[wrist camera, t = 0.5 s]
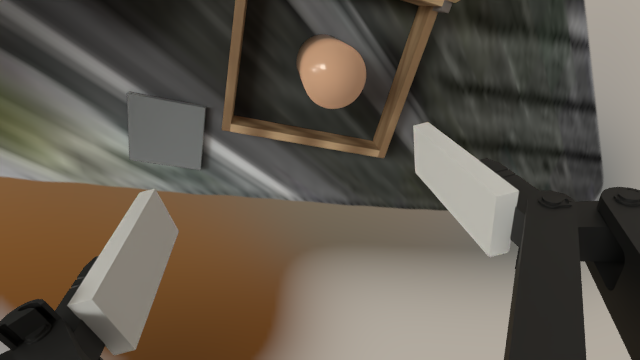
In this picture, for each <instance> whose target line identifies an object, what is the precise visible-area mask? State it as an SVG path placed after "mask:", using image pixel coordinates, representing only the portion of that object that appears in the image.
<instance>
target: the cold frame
mask: <svg viewBox="0 0 640 360" xmlns="http://www.w3.org/2000/svg"><path fill="white" fill-rule="evenodd" d="M402 1H405V2H408V3H412V4H415V5H418V6H419V7H418V10H417V13H416V16H415V19H414V22H413V24H412V27H411V30H410V33H409V36H408V39H407V42H406V45H405V48H404V51H403V54H402V57H401V60H400V63H399V65H398V68H397V71H396V74H395V77H394V80H393V83H392V86H391V89H390V92H389V95H388V98H387V101H386V104H385V106H384V109H383V112H382V115H381V118H380V121H379V124H378V127H377V130H376V133H375V136H374V139H373V141H370V140H365V139H359V138H354V137H348V136H343V135H338V134H332V133H327V132H322V131H316V130H311V129H306V128H300V127H295V126H289V125H284V124H279V123H273V122H268V121H263V120H257V119H252V118H247V117H241V116H236V115H234V108H235V100H236V91H237V83H238V75H239V67H240V58H241V50H242V42H243V33H244V25H245V17H246V9H247V0H235V8H234V18H233V27H232V37H231V46H230V56H229V65H228V75H227V84H226V94H225V103H224V113H223V122H222V130H224V131H230V132H236V133H242V134H247V135H253V136H259V137H264V138H270V139H276V140H282V141H287V142H293V143H299V144H305V145H310V146H316V147H322V148H328V149H333V150H339V151H345V152H351V153H356V154H362V155H368V156H374V157H379V158H384V157H385V155H386V152H387V149H388V146H389V144H390V141H391V138H392V136H393V133H394V130H395V127H396V125H397V122H398V119H399V117H400V114H401V111H402V108H403V106H404V103H405V100H406V98H407V95H408V92H409V89H410V87H411V84H412V81H413V79H414V76H415V73H416V71H417V68H418V65H419V62H420V60H421V57H422V54H423V52H424V49H425V46H426V43H427V41H428V38H429V35H430V33H431V30H432V27H433V24H434V22H435V19H436V16H437V14H438V12H440V13H449V11H450V8H451V6H452V3H453V2H450V1H447V0H402Z"/></svg>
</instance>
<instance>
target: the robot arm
mask: <svg viewBox="0 0 640 360" xmlns="http://www.w3.org/2000/svg"><path fill="white" fill-rule="evenodd" d="M413 130H414V154H415V172H416V174H417V175H418V176H419V177H420V178H421V179H422V181H423V182H424V183H425V184H426V185H427V186H428V187H429V189H430V190H431V191H432V192H433V193H434V194H435V196H436V197H437V198H438V199H439V200H440V201H441V202H442V204H443V205H444V206H445V207H446V208H447V209H448V210H449V212H450V213H451V214H452V215H453V216H454V217H455V219H457V221H458V222H459V223H460V224H461V225H462V227H463V228H464V229H465V230H466V231H467V232H468V233H469V235H470V236H471V237H472V238H473V239H474V240H475V242H476V243H477V244H478V245H479V246H480V247H481V248H482V250H483V251H484V252H485V253H486V254H487V255H488V256H489V257H492V256H496V255H500V254H504V253H508V252H509V249H510V243H511V240H512V241H513V242H514V243H515V244H516V245H517V246H518V247H519V250H518V255H517V260H516V267H515V269H516V271H515V279H514V286H513V294H512V302H511V309H510V317H509V325H508V333H507V340H506V348H505V355H504V360H586V348H585V333H584V316H583V299H582V284H581V268H580V261H585V262H586V264H587V266H588V269H589V271H590V273H591V275H592V277H593V279H594V281H595V283H596V286H597V288H598V290H599V292H600V294H601V296H602V298H603V300H604V302H605V304H606V307H607V309H608V311H609V313H610V314H611V317H612V319H613V321H614V323H615V325H616V327H617V329H618V331H619V334H620V336H621V338H622V340H623V342H624V344H625V346H626V348H627V351H628V353H629V355H630V357H631V359H632V360H640V190H637V189H633V188H624V187H614V188H609V189H606V190H604V191H603V192H602V193H601V196H600V199H599V201H580V202H575V201H574V200H573V199H572V198H570V197H569V196H567V195H565V194H562V193H559V192H554V191H539V190H538V189H536V188H535V187H533V186H532V185H531V184H529V183H528V182H526V181H525V180H523V179H522V178H521V177H519V176H518V175H515V173H513V172H512V171H511V170H508V168H506V167H505V166H503V165H502V164H501V163H499V162H496V161H493V160H491V159H488V158H486V159H481V160H478V159H476V158H475V157H474V156H472V155H471V154H470V153H468V152H467V151H466V150H464V149H463V148H462V147H460V146H459V145H458V144H456V143H455V142H454V141H452V140H451V139H450V138H448V137H447V136H446V135H445V134H443V133H442V132H441V131H439V130H438V129H437V128H435V127H434V126H433V125H431V124H430V123H429V122H426V123H422V124H418V125H414V126H413ZM178 232H179V231H178V229H177V227H176V225H175V224H174V222H173V220H172V218H171V216H170V214H169V213H168V211H167V209H166V207H165V205H164V204H163V202H162V200H161V198H160V196H159V195H158V193H157V191H156V189H152V190H147V191H144V192H140V193H139V194H138V196H137V197H136V199H135V200H134V202H133V204H132V205H131V207H130V209H129V210H128V212H127V213H126V215H125V216H124V218H123V219H122V221H121V222H120V224H119V226H118V227H117V229H116V230H115V232H114V233H113V235H112V236H111V238H110V240H109V241H108V243H107V244H106V246H105V247H104V249H103V250H102V252H101V254H100V255H99V256H97V257H95V258H93V259H92V261H90V262H89V263H88V264H87V265H86V266H85V267H84V268H83V270H82V271H81V273H80V274H79V276H78V277H77V280H75V282H74V283H73V285H72V286H71V287H72V288H71V289H69V291H68V292H67V294H66V295H65V297H64V298H63V300H62V301H61V303H60V304H59V306H58V307H57V309H56V310H55V311H54V310H53V309H52V308H51V307H50V306H49V305H48V304H47V303H46V302H45V301H44V300H43V299H36V300H33V301H29V302H27V303H25V304H23V305H21V306H19V307H17V308H16V309H14V310H13V311H12V312H10V313H9V314H7V315H6V316H5V317H4V318H3V319H2V320H1V321H0V341H1V342H3V343H4V344H5V345H6V346H7V347H9V348H10V349H11V350H9V351H6V352H4V353H3V354H1V355H0V360H103V359H102V358H101V357H100V355H101V353H102V351H103V349H104V347H105V346H106V347H107V348H108V349H109V351H110V352H111V353H112V354H113V355H117V354H121V353H124V352H128V351H132V350H135V349H136V347H137V344H138V341H139V339H140V336H141V333H142V330H143V327H144V325H145V322H146V319H147V317H148V314H149V311H150V308H151V306H152V303H153V300H154V298H155V295H156V292H157V289H158V287H159V284H160V281H161V279H162V276H163V273H164V270H165V268H166V265H167V262H168V259H169V257H170V254H171V251H172V248H173V246H174V243H175V240H176V237H177V235H178Z"/></svg>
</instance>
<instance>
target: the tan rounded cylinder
mask: <svg viewBox="0 0 640 360" xmlns="http://www.w3.org/2000/svg"><path fill="white" fill-rule="evenodd" d="M296 64H297V70H298V73H299V75H300V78H301V80H302V83H303V85H304V88H305V90H306V92H307V94H308V96H309V97H310V98H311V100H312V101H314V102H315V103H316V104H318V105H319V106H322V107H324V108H329V109H337V108H342V107H345V106H347V105H349V104H350V103H352V102H353V101H354V100H355V99H356V98H357V97H358V96H359V95H360V93H361V92H362V90H363V88H364V85H365V81H366V67H365V63H364V61H363V59H362V57H361V55H360V54H359V53H358V52H357V51H356V50H355V49H354V48H352V47H351V46H349V45H347V44H346V43H344V42H342V41H340V40H338V39H337V38H335V37H333V36H330V35H326V34H319V35H315V36H313V37H311V38H309V39H308V40H306V41H305V42H304V43H303V44H302V46H301V47H300V49H299V52H298V55H297V60H296Z"/></svg>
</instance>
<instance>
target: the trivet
mask: <svg viewBox="0 0 640 360" xmlns="http://www.w3.org/2000/svg"><path fill="white" fill-rule="evenodd" d="M127 107H128V135H129V160H134V161H141V162H148V163H155V164H162V165H169V166H176V167H183V168H190V169H197V170H201V167H202V154H203V141H204V129H205V116H206V106H203V105H197V104H192V103H187V102H181V101H176V100H171V99H166V98H160V97H155V96H150V95H144V94H139V93H134V92H128V93H127Z"/></svg>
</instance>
